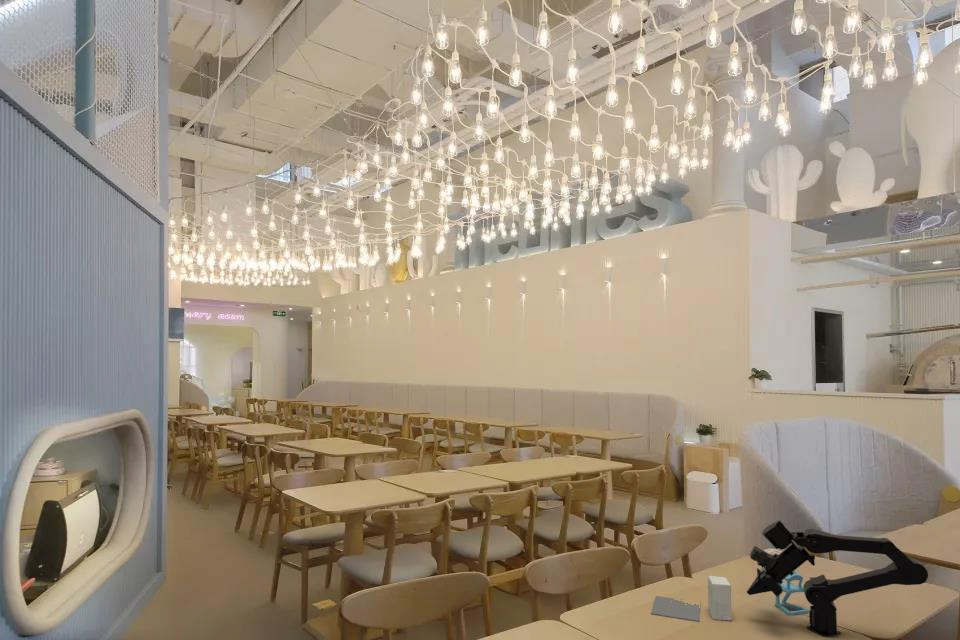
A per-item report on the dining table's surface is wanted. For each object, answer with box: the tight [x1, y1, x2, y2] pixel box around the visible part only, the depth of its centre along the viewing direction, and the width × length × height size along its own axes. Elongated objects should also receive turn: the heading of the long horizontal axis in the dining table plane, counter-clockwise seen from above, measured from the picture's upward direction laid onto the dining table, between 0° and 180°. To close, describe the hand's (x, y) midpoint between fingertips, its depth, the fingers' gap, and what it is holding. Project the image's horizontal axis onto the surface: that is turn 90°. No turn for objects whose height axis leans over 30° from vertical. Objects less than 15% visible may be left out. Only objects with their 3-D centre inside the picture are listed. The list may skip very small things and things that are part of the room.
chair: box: [774, 571, 809, 616], centre depth 198 cm, size 8×8×12 cm
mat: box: [650, 595, 701, 623], centre depth 196 cm, size 14×16×1 cm
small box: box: [707, 575, 732, 621], centre depth 192 cm, size 8×6×10 cm
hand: (747, 593), depth 189 cm, fingers closed
